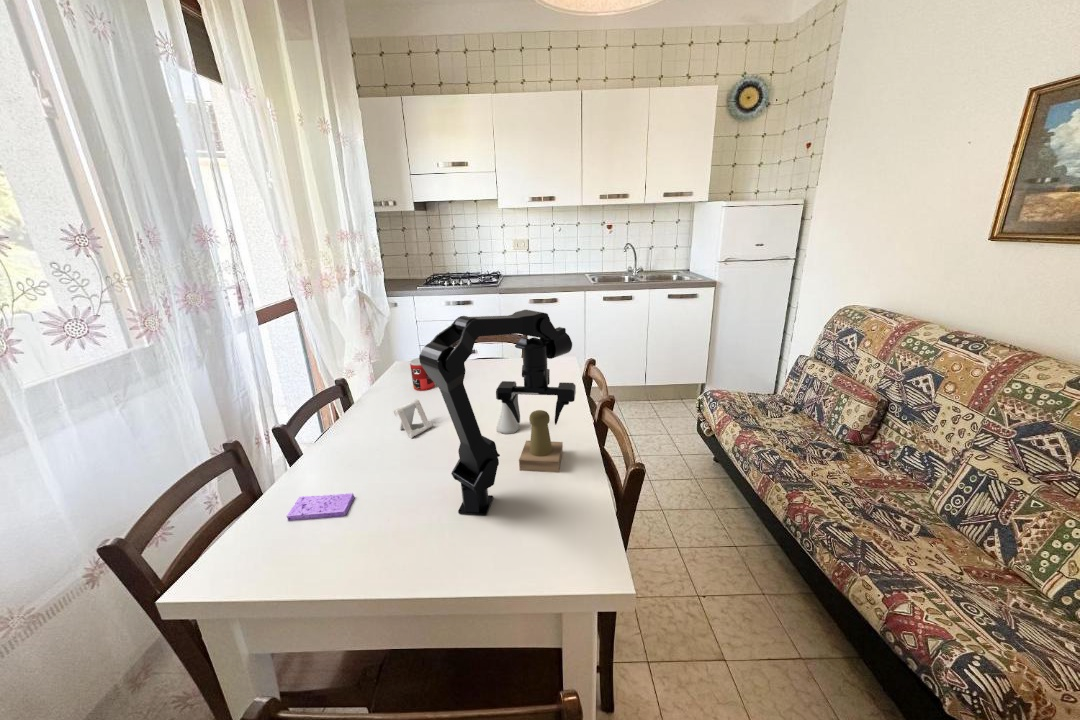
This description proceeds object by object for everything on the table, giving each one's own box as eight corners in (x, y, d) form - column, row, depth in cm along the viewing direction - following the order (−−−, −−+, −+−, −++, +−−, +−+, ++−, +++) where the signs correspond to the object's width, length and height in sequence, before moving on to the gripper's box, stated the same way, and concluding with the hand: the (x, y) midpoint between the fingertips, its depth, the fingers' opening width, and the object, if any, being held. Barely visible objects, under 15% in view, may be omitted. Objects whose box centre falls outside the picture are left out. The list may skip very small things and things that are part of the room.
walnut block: (558, 472, 110) (558, 461, 109) (519, 470, 112) (519, 460, 111) (562, 451, 119) (562, 442, 118) (526, 450, 121) (526, 440, 120)
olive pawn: (525, 453, 113) (522, 415, 110) (536, 442, 118) (534, 405, 115) (545, 458, 111) (544, 419, 107) (556, 447, 116) (555, 409, 112)
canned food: (412, 386, 170) (408, 359, 167) (432, 382, 173) (429, 356, 170) (415, 392, 164) (411, 365, 160) (436, 388, 167) (433, 361, 163)
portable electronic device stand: (412, 439, 130) (408, 413, 127) (394, 433, 134) (390, 408, 131) (433, 427, 136) (430, 402, 134) (416, 421, 141) (412, 398, 138)
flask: (516, 435, 129) (514, 404, 126) (493, 433, 131) (490, 403, 128) (522, 424, 136) (520, 394, 133) (499, 422, 137) (497, 393, 134)
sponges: (301, 503, 103) (299, 496, 102) (355, 498, 104) (354, 491, 103) (287, 523, 96) (285, 516, 96) (345, 518, 97) (344, 511, 97)
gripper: (576, 353, 109) (577, 410, 114) (504, 352, 112) (507, 408, 117) (573, 368, 99) (574, 430, 104) (493, 367, 102) (497, 427, 106)
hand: (537, 423), depth 108 cm, fingers open, 9 cm apart
